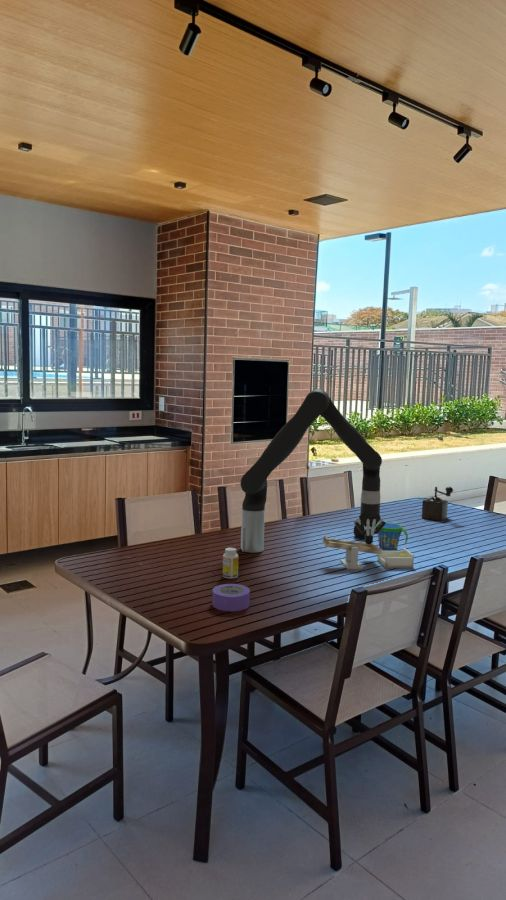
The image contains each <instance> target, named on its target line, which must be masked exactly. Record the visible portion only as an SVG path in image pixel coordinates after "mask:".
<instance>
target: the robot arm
mask: <svg viewBox="0 0 506 900" xmlns="http://www.w3.org/2000/svg"><path fill="white" fill-rule="evenodd" d="M319 417H322V418H323V419H324V420H325V421H326V422H327V423H328V424H329V426H331V429H332V430H334V432H335V433H336V435H337V436H338V438H339V439H340V440H341V441H342V442H343V444H344V445H345V446H346V447H347V448H348V449H349V450H350V451H351V452H353V453H354V455H355V456H356V458H358V459H359V461H360V462H361V463H362V481H361V483H362V484H361V494H360V514H359V516H358V518H357V519H358V520H356V519H355V520H354V521H353V524H354V526H355V525H356V526H357V528H358V529H359V530H360V532H361V533H362V534H365V538H364V542H365V543H366V544H371V543H372V544H374V536H375V535H378V533H379V531H380V530H381V529H382V528H383V526H384V525H385V524H386V523H387V522H386V521H384V520H383V519H381V518H382V517H381V515H380V513H381V477H380V473H381V466H382V463H383V459H382V456H381V455H380V453H379V452H378V451H377V450H375V449H374V447H372V445H370V444H369V443H368V441H367V440H366V439H365V437H364V436H363V435H362V434H361V433H360V432H359V430H357V428H356V427H354V425H353V424H351V423H350V422H349V421H348V420H347V419H346V417H345V416H344V415H343V414H342V413H341V412H340V411H339V409H338V407H337V406H336V405H335V404H334V402H333V401H332V399H331V398H330V395H329V394H328V393H327V392H326V391H325V390H324V389H322V388H321V389H320V388H315V389H312V390H311V391H309V392H308V393H307V394H306V396H305V397H304V399H303V402H302V403H301V405H300V406H299V408H298V409H297V411H296V412H295V413H294V415H293V416H292V417H291V418H290V419H289V420H288V421H287V422H286V423H285V424H284V425H283V426H282V427H281V428H280V430H279V431H277V433H276V434H275V436H274V437H273V438H272V439H271V441H270V442H269V443H268V445H267V447H266V448H265V449H264V451H263V452H262V454H261V455H260V456H259V457H258V459H257V460H256V462H255V463H254V464H253V465H252V466H251V467H249V469H248V470H247V471H246V472H245V473H244V474H243V475H242V477H241V479H240V487H241V490H242V491H243V492H244V499H243V501H242V503H241V504H242V506H241V508H242V511H241V529H240V550H241V551H242V553H243V552H244V553H245V552H246V553H251V554H252V553H255V554H256V553H262V552H263V551H265V550H264V549H265V548H264V547H265V516H266V515H265V512H266V511H265V508H266V502H267V494H268V492H267V491H268V477H269V476H270V475H271V473H272V472H273V471H274V470H275V469H277V467H279V465H281V464H282V463H284V461H285V460H286V459H288V457H289V456H290V455H291V454H292V453H293V451H294V450H295V449H296V448H297V446H298V445H299V444H300V442H301V440H302V439H303V438H304V435H305V434H306V432H307V430H308V429H309V428H310V426H311V425H313V423H314V422H315V421H316V420H317V419H318V418H319ZM360 521H361V522H362V524H363V525H364V528H365V531H364V530H363V529H362V527H361V526H360V525H361V523H360ZM377 524H378V526H377V527H375V526H376V525H377Z"/></svg>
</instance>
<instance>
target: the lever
mask: <svg viewBox="0 0 506 900" xmlns="http://www.w3.org/2000/svg"><path fill="white" fill-rule="evenodd" d="M322 543H323V545H324V546H325V547H327V548H333V549H341V550H345V551H346V550H351V548H352V547H358V552H359V553H367V554H368V553H369V554H374V555H378V554H382V551H383V550H382V549H380V547H379V544H378V545H377V544H374V543H371V544H366V543H365V541H364V542H363V541H360V542H357V541H349V540H344V539H343V540H342V539H336V538H335V539H334V538H328V537H327V536H326V535H323V538H322Z"/></svg>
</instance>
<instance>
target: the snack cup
mask: <svg viewBox="0 0 506 900" xmlns="http://www.w3.org/2000/svg"><path fill="white" fill-rule="evenodd" d="M385 523H386V524H385V525H384V526H383V528H382V529H381V530H380V531H379V533H378V534H377V537H378V539H377V541H378V548H379V549H382V551H398V546H399V541H400V537H401V534H402V531H403V533H404V534H405V537H406V538H405V542H404V544H407V542H408V539H409V538H408V536H409V535H408V532H407V530H406V529H405V528H403V526H402V525H400V524H397V523H392V522H385ZM377 526H378V523H377V525H376V526H375V528H376V527H377Z"/></svg>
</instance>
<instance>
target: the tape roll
mask: <svg viewBox="0 0 506 900" xmlns="http://www.w3.org/2000/svg"><path fill="white" fill-rule="evenodd" d="M250 597H251V590H250V588H249V587H248V586H246V585H243V584H240V583H239V584H237V583H225V584H219V585H217V586H214V587H213V588H212V607H213V608H215V609H217V610H219V611H223V612H240V611H243V610H246V609H248V608H249V607H250V604H251V603H250V602H251V598H250Z"/></svg>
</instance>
